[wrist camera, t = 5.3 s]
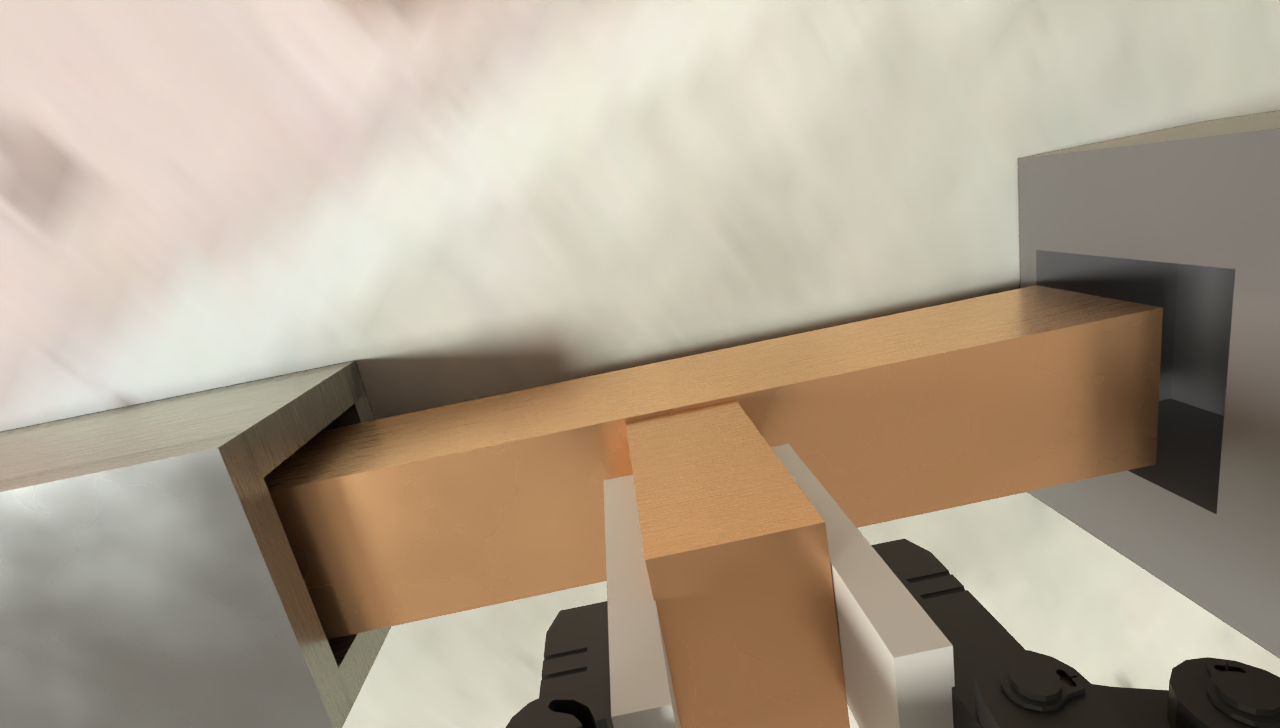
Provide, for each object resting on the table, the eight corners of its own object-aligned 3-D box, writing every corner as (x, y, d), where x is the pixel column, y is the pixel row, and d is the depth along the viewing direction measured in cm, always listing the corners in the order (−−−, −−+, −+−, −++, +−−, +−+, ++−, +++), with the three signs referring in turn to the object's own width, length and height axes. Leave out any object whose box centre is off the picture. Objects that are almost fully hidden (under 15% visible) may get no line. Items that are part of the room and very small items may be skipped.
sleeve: (-158, 463, 20) (-600, 614, 12) (354, 360, 20) (217, 448, 13) (-40, 659, 22) (-359, 886, 14) (421, 563, 22) (337, 737, 15)
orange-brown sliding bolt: (117, 472, 19) (-443, 783, 9) (1036, 285, 19) (1517, 370, 9) (172, 590, 20) (-265, 986, 10) (1037, 410, 21) (1467, 607, 10)
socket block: (1017, 158, 20) (1347, 120, 11) (1205, 121, 20) (1676, 54, 11) (1024, 490, 23) (1282, 660, 14) (1185, 456, 23) (1537, 604, 15)
